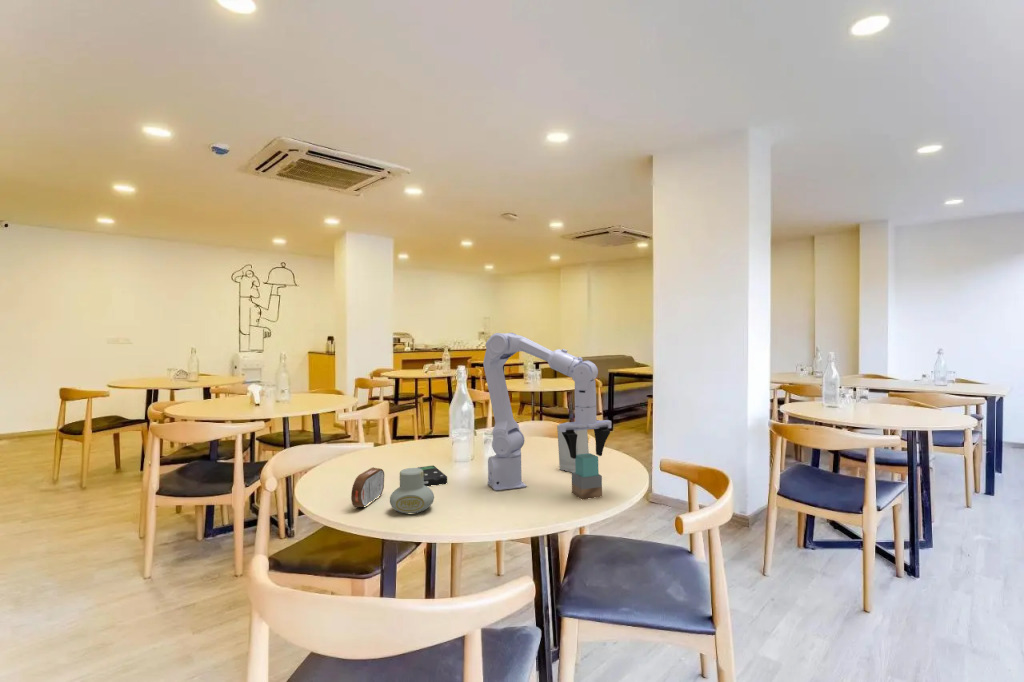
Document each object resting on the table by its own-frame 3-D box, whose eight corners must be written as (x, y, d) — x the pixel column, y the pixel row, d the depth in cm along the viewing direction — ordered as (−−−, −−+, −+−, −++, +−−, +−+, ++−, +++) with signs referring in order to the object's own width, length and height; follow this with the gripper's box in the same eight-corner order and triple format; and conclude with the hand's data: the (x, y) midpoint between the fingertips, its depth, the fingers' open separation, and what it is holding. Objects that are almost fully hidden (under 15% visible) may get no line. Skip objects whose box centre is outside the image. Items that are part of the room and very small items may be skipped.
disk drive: (448, 485, 149) (433, 473, 163) (448, 476, 149) (433, 464, 163) (413, 491, 145) (401, 477, 158) (413, 481, 145) (401, 468, 158)
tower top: (581, 489, 133) (581, 478, 133) (571, 483, 139) (571, 472, 138) (601, 486, 135) (601, 475, 135) (591, 480, 140) (591, 470, 140)
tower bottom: (581, 500, 133) (581, 489, 133) (571, 494, 139) (571, 483, 138) (602, 497, 135) (601, 486, 135) (591, 491, 140) (591, 480, 140)
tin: (376, 493, 141) (375, 463, 141) (386, 494, 141) (386, 463, 141) (350, 512, 127) (349, 479, 126) (362, 513, 126) (361, 479, 126)
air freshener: (387, 517, 123) (386, 476, 123) (393, 505, 131) (392, 467, 131) (432, 515, 124) (431, 474, 123) (435, 503, 132) (434, 465, 132)
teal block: (583, 477, 133) (583, 458, 133) (575, 473, 137) (575, 454, 137) (598, 475, 135) (598, 456, 135) (590, 471, 139) (589, 453, 139)
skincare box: (590, 470, 161) (589, 424, 160) (578, 474, 156) (577, 426, 156) (569, 466, 167) (568, 421, 166) (557, 469, 162) (556, 423, 162)
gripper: (566, 409, 130) (567, 462, 130) (616, 406, 135) (617, 457, 135) (556, 406, 137) (556, 456, 137) (604, 403, 141) (604, 451, 142)
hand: (586, 456), depth 136 cm, fingers open, 7 cm apart
